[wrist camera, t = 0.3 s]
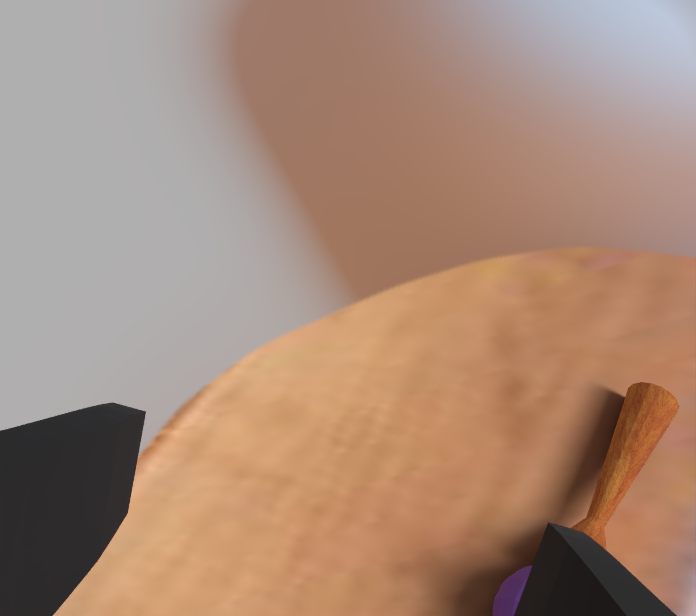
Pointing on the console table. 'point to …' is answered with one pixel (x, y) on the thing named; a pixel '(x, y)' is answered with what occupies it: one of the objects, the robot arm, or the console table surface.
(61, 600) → the robot arm
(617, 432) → the purple maraca
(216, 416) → the console table surface
